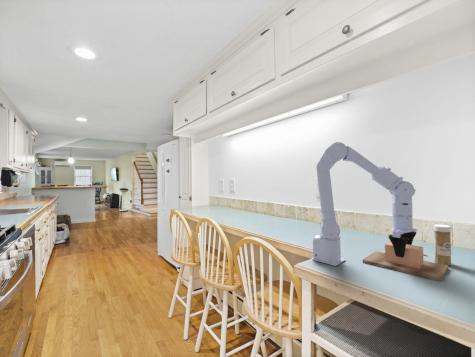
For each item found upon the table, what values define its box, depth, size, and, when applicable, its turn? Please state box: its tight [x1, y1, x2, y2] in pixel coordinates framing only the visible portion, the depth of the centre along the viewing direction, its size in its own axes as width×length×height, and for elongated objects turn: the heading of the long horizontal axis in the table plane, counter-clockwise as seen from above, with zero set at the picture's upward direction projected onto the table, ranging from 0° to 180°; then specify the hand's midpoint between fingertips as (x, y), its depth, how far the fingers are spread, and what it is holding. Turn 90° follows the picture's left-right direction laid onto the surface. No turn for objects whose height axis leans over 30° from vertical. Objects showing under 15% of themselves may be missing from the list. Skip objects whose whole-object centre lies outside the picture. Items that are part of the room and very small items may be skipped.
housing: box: [384, 240, 424, 269], centre depth 83 cm, size 10×5×6 cm, turn 41°
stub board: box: [362, 251, 449, 282], centre depth 83 cm, size 22×13×4 cm, turn 41°
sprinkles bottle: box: [433, 224, 452, 267], centre depth 84 cm, size 5×5×14 cm
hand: (403, 254), depth 83 cm, fingers open, 7 cm apart
